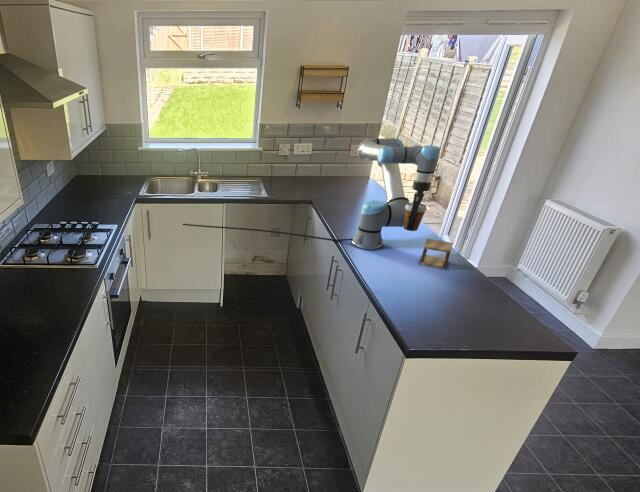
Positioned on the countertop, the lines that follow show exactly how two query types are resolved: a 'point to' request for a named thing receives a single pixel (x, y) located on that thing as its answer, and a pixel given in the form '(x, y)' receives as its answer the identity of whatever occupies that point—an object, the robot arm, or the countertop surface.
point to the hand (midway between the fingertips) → (410, 227)
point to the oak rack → (434, 260)
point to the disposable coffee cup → (419, 215)
